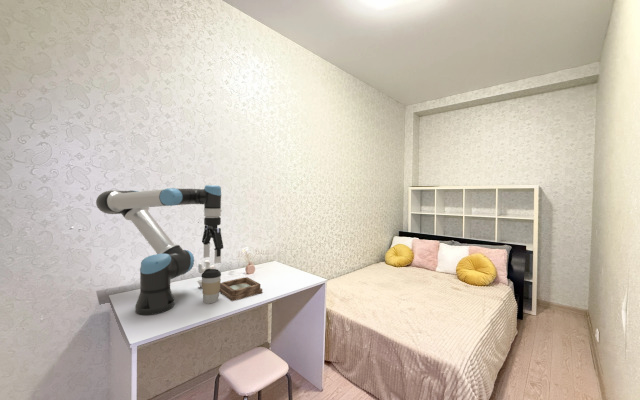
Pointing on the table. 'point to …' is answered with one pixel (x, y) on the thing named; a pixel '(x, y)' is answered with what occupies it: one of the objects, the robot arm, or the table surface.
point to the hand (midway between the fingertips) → (211, 260)
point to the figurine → (201, 270)
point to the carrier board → (240, 288)
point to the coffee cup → (211, 285)
